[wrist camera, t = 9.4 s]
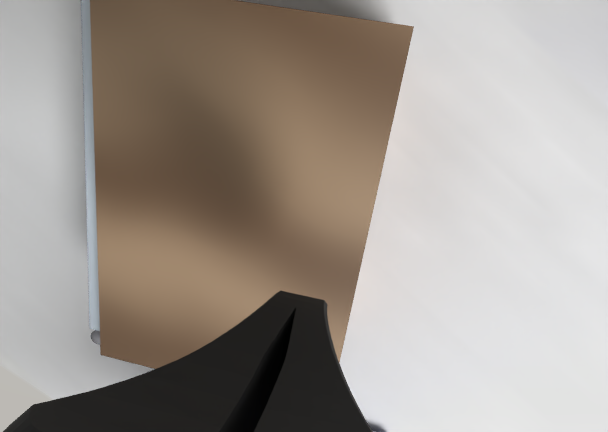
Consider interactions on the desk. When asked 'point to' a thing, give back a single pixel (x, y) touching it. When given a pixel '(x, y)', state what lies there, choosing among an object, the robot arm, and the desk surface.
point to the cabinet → (232, 163)
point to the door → (90, 174)
